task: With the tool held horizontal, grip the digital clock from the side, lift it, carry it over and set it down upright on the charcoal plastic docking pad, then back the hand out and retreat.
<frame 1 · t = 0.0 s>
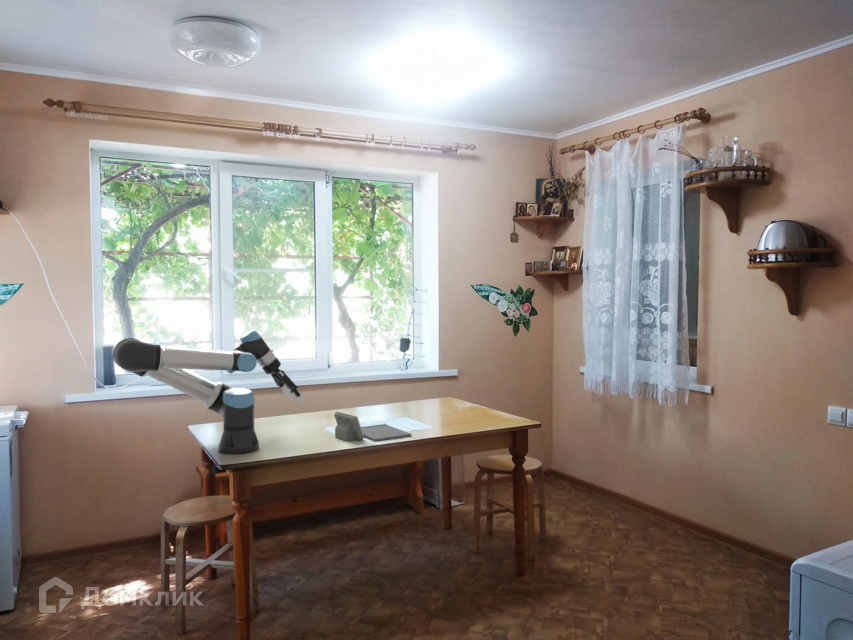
hand: (297, 399, 263), 15 cm above the table, tool tilted 35°, fingers open, 13 cm apart
digital clock: (348, 438, 256), on the table
docking pad: (379, 433, 264), on the table
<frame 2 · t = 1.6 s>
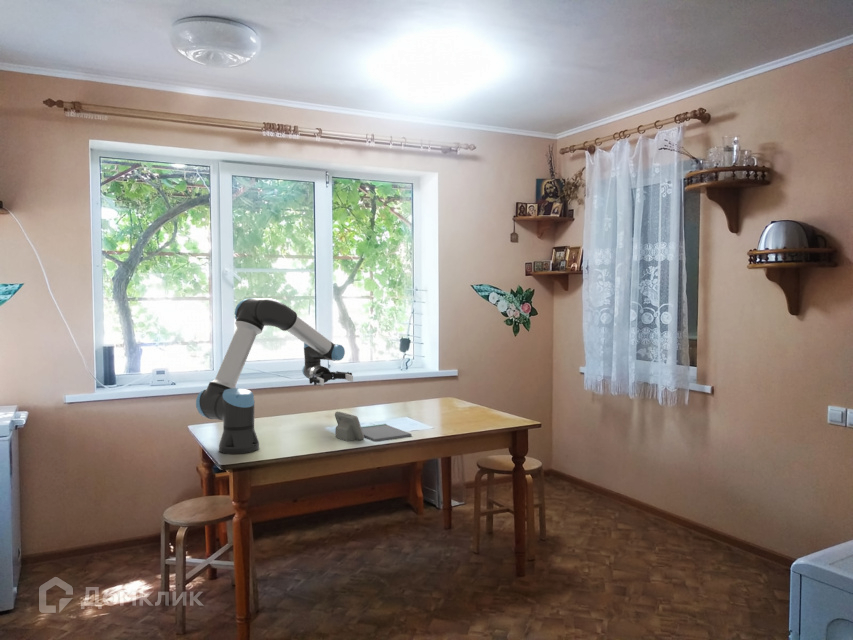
hand: (337, 380, 262), 24 cm above the table, tool horizontal, fingers open, 13 cm apart
nothing on the table moved.
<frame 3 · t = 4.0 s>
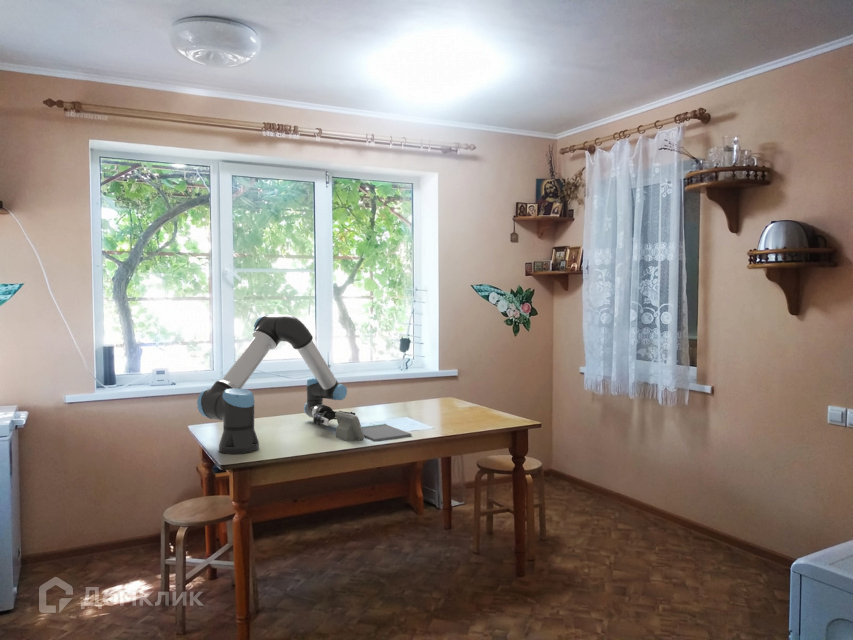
hand: (342, 420, 263), 6 cm above the table, tool horizontal, fingers open, 13 cm apart
nothing on the table moved.
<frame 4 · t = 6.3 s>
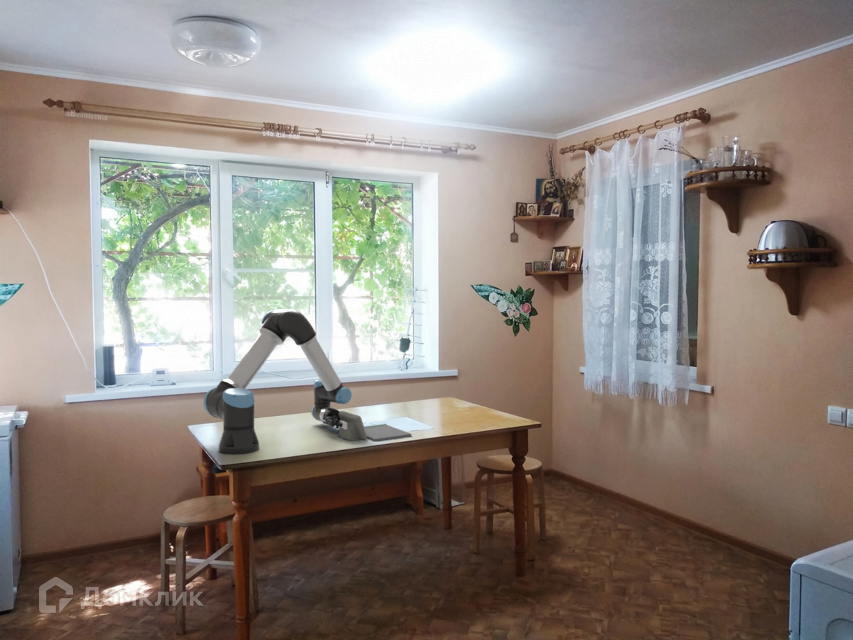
hand: (352, 425, 253), 6 cm above the table, tool horizontal, fingers closed on digital clock, 5 cm apart
digital clock: (352, 437, 257), on the table, touching gripper
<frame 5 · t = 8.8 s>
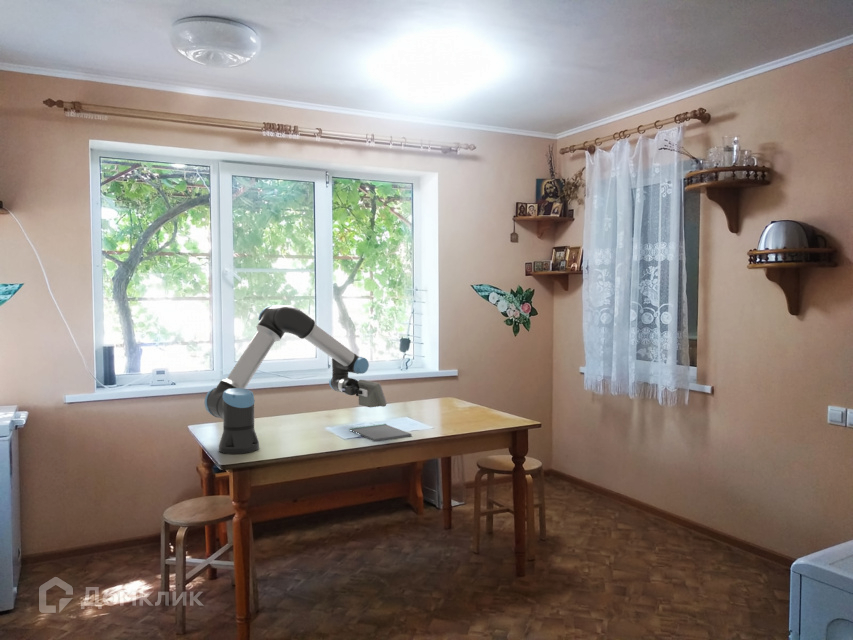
hand: (372, 392, 258), 19 cm above the table, tool horizontal, fingers closed on digital clock, 5 cm apart
digital clock: (372, 405, 262), point 13 cm above the table, touching gripper
when the fingers open (8 cm above the table, at t = 11.3 s): digital clock drops 1 cm, resting on docking pad.
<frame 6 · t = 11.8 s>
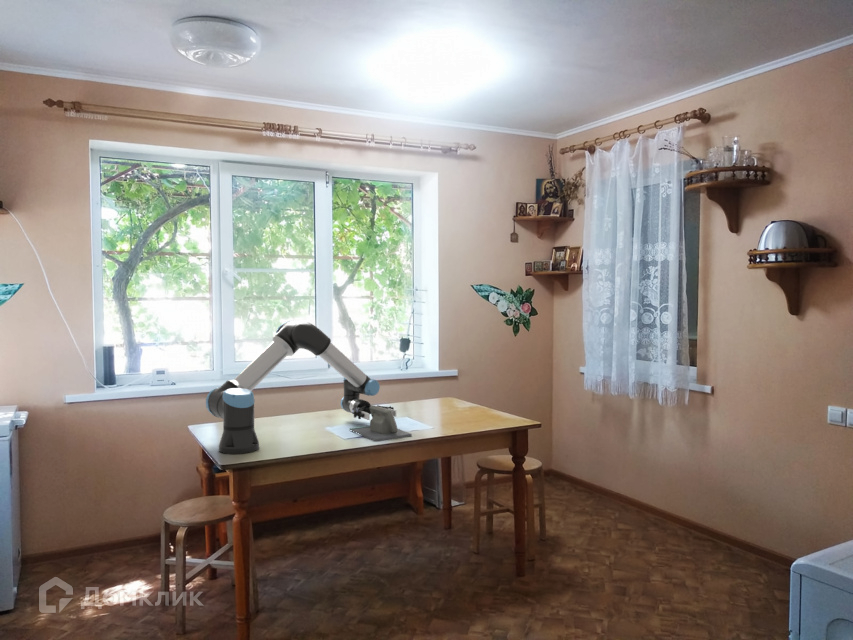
hand: (382, 415, 262), 8 cm above the table, tool horizontal, fingers open, 13 cm apart
digital clock: (383, 431, 265), point 1 cm above the table, touching docking pad
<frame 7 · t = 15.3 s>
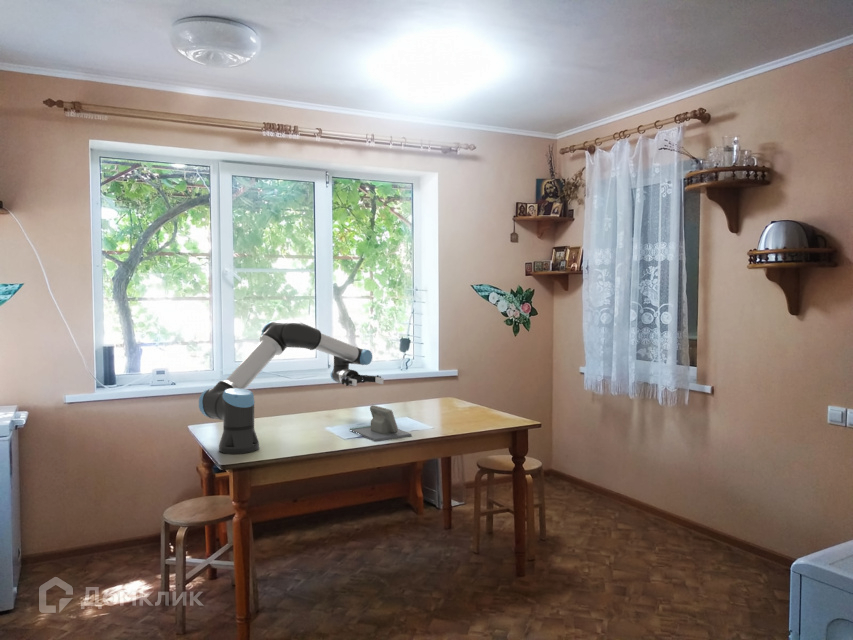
hand: (369, 382, 273), 21 cm above the table, tool horizontal, fingers open, 13 cm apart
nothing on the table moved.
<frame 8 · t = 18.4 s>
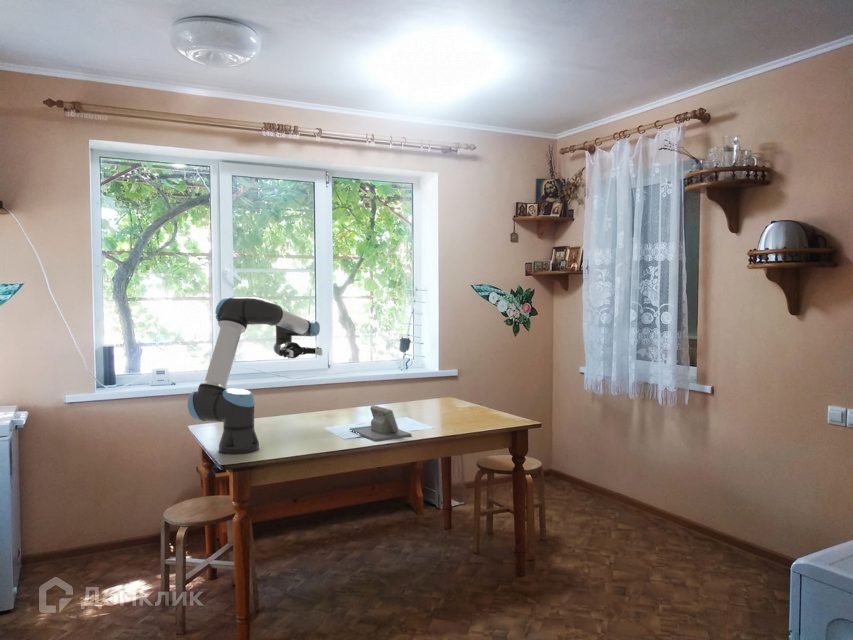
hand: (307, 353, 268), 35 cm above the table, tool horizontal, fingers open, 13 cm apart
nothing on the table moved.
at the end: digital clock inside the target area on the docking pad (2.0 cm from its centre), point 0.8 cm above the docking pad's base; digital clock tilted 0°; the gripper is holding nothing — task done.
